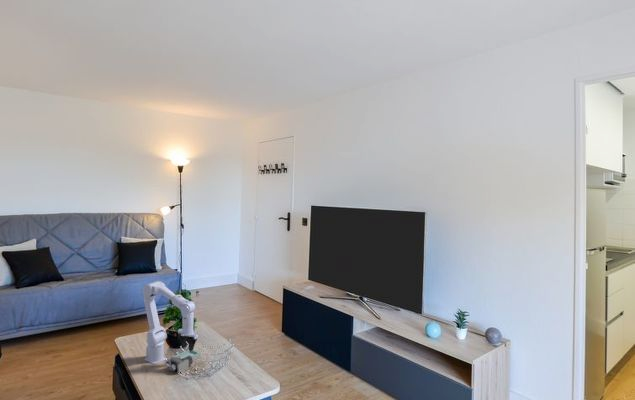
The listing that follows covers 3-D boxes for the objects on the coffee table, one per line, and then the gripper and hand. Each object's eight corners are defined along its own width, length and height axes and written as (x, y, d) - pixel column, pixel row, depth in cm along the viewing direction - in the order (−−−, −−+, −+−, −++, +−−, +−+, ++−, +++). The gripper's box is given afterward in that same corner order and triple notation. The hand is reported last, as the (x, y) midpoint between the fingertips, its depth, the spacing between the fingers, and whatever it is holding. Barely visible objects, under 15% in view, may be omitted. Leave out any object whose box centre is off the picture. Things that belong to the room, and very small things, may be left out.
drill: (175, 373, 185) (174, 363, 186) (170, 372, 188) (169, 362, 188) (193, 364, 195) (192, 356, 195) (187, 364, 197) (186, 355, 198)
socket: (169, 369, 189) (169, 358, 189) (178, 365, 194) (179, 354, 194) (178, 374, 185) (179, 362, 185) (188, 369, 190) (188, 358, 190)
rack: (168, 362, 198) (168, 358, 198) (190, 352, 211) (190, 349, 211) (177, 366, 193) (177, 362, 193) (199, 355, 206) (199, 352, 206)
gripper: (173, 323, 194) (172, 348, 195) (190, 329, 187) (189, 354, 187) (184, 320, 200) (183, 343, 201) (201, 325, 193) (200, 350, 193)
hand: (187, 348), depth 194 cm, fingers open, 6 cm apart
